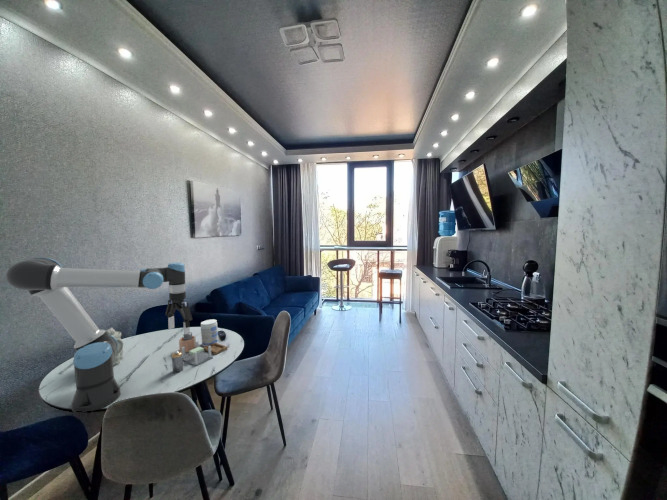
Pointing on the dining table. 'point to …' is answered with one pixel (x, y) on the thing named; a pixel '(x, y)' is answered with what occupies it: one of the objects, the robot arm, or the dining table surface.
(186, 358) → the checker cradle
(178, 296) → the robot arm
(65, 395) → the dining table surface
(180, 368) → the cell
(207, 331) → the supplement tub
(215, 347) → the brown wooden tray
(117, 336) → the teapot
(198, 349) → the checker pad
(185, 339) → the orange canister
